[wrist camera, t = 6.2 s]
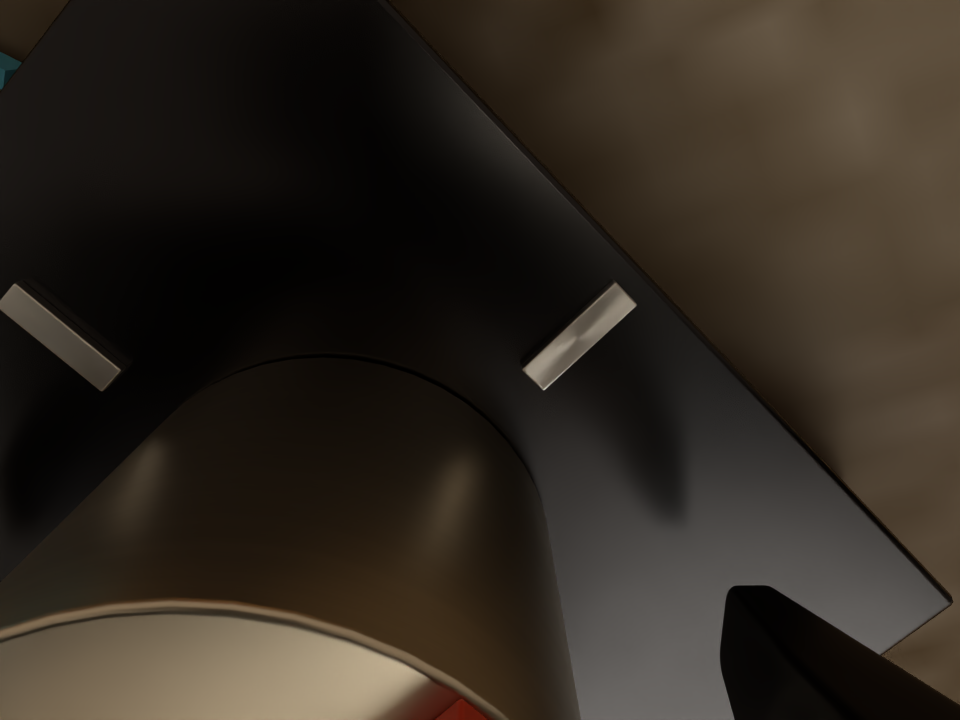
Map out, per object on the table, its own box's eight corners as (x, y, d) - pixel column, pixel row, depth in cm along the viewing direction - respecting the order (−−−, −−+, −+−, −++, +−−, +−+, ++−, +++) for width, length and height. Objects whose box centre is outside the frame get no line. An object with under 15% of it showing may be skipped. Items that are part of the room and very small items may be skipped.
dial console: (847, 490, 12) (967, 611, 9) (424, 823, 15) (411, 1008, 12) (286, -102, 10) (202, -197, 7) (-131, 412, 12) (-335, 513, 9)
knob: (349, 793, 10) (251, 1327, 6) (32, 558, 9) (-402, 995, 5) (637, 559, 9) (795, 991, 5) (318, 258, 8) (115, 445, 4)
